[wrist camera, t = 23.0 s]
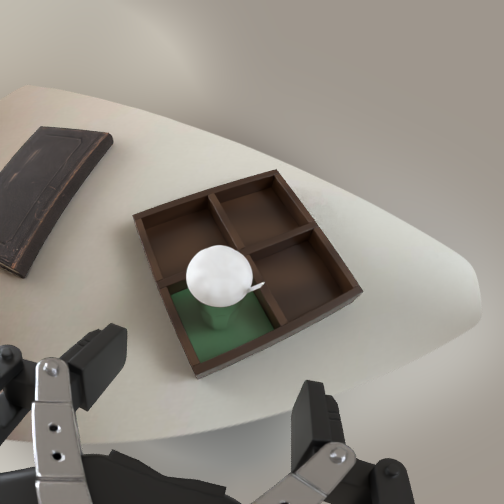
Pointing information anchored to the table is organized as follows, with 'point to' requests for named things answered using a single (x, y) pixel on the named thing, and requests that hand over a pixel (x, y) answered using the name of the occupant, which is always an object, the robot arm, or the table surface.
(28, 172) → the hardcover book
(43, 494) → the robot arm
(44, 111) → the table surface
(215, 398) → the table surface
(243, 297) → the milkshake
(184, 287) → the grid
